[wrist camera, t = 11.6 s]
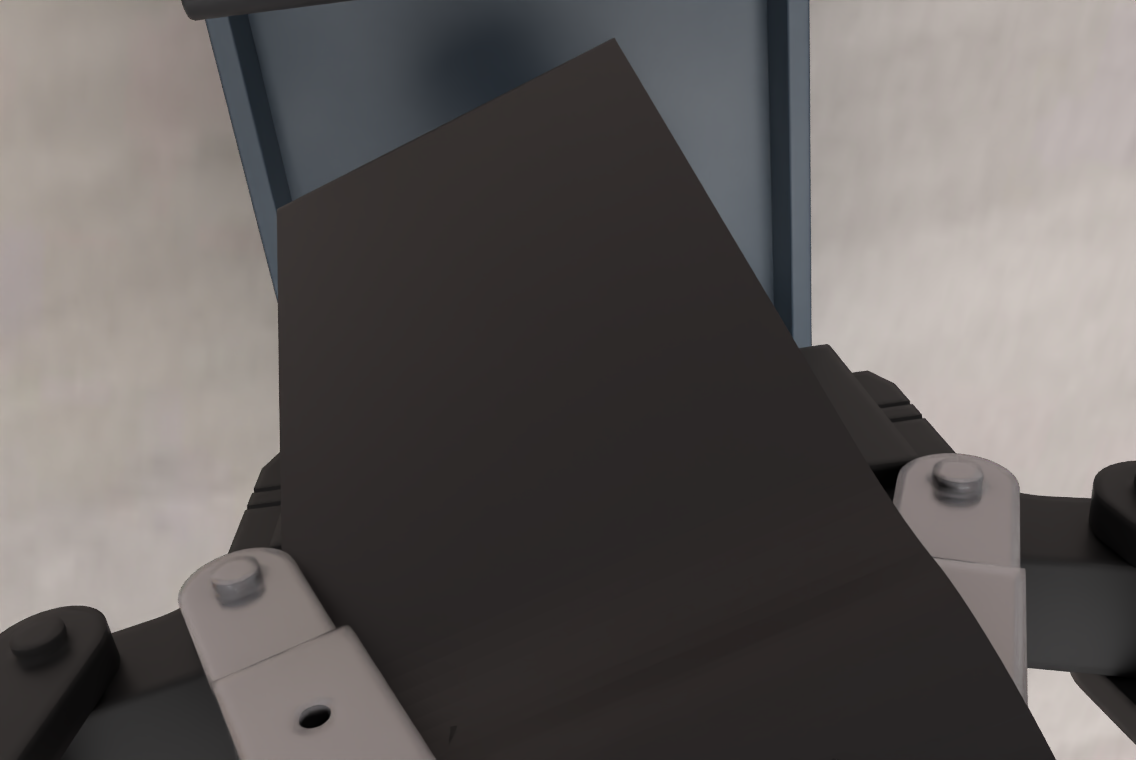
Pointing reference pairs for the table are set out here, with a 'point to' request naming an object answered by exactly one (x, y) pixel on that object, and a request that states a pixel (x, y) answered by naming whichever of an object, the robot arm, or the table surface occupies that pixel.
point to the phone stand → (598, 463)
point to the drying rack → (509, 59)
